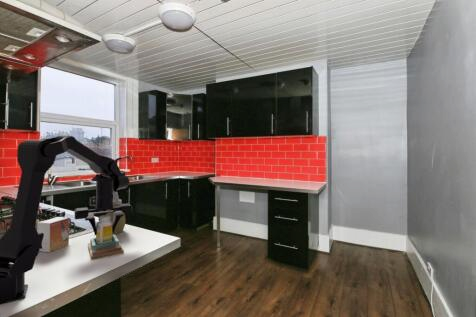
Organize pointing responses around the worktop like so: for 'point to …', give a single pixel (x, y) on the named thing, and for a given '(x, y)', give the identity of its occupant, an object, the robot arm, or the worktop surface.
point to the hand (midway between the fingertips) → (104, 233)
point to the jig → (104, 248)
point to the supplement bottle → (104, 229)
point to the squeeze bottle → (121, 222)
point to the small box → (54, 233)
